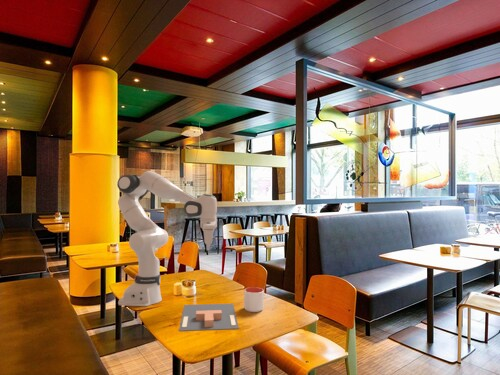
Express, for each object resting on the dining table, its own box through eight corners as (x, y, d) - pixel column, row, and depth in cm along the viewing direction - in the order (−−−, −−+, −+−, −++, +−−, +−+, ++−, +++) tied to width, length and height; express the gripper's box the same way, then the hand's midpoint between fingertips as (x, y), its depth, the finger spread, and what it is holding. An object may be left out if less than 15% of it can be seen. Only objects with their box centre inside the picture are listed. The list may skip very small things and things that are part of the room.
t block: (195, 327, 142) (195, 320, 142) (196, 317, 154) (196, 310, 154) (222, 326, 143) (222, 319, 143) (221, 316, 155) (221, 310, 155)
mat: (178, 331, 138) (178, 329, 138) (184, 305, 170) (184, 304, 170) (238, 328, 142) (238, 327, 142) (233, 303, 173) (233, 302, 173)
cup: (261, 313, 160) (262, 293, 160) (242, 312, 162) (242, 292, 162) (264, 306, 170) (265, 288, 170) (246, 305, 172) (246, 286, 172)
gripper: (202, 222, 183) (202, 246, 183) (202, 226, 163) (201, 253, 163) (214, 222, 184) (213, 246, 184) (214, 226, 164) (214, 253, 163)
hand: (208, 249), depth 173 cm, fingers closed
